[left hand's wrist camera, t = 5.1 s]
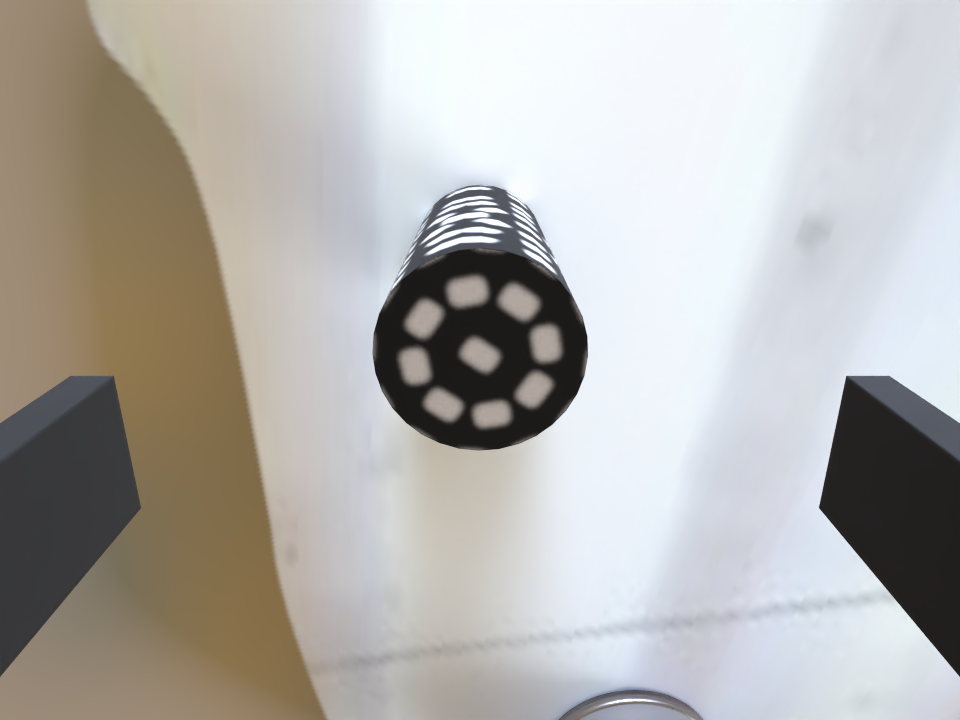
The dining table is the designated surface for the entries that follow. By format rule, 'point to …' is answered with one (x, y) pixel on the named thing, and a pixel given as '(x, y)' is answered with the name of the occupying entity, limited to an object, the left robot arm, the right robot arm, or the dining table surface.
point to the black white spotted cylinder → (480, 326)
